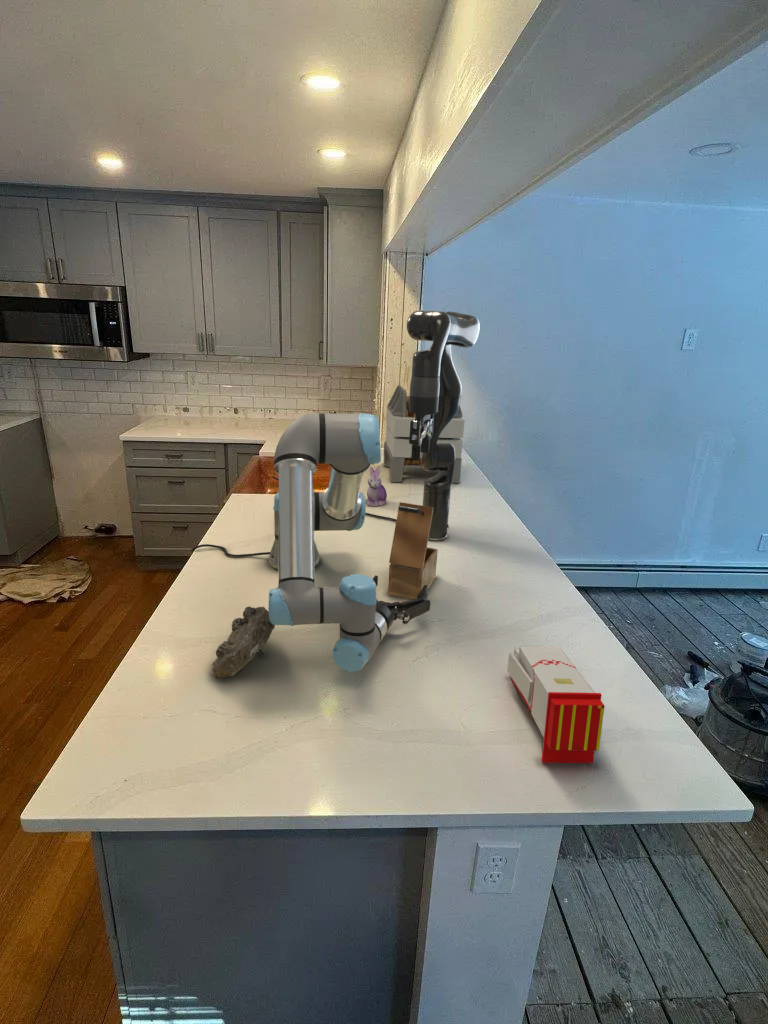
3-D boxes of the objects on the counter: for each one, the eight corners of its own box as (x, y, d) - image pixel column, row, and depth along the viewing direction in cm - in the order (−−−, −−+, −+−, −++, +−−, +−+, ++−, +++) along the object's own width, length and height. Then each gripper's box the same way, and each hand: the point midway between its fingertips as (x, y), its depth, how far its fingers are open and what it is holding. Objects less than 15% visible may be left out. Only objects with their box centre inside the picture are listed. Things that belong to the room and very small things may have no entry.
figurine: (371, 508, 224) (372, 471, 219) (360, 500, 232) (361, 464, 227) (392, 505, 228) (394, 469, 223) (380, 497, 236) (382, 462, 231)
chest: (405, 571, 172) (407, 543, 169) (435, 576, 169) (437, 549, 166) (387, 594, 157) (389, 565, 154) (420, 601, 154) (422, 571, 151)
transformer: (382, 463, 289) (386, 382, 275) (445, 464, 293) (451, 384, 279) (390, 482, 257) (394, 392, 243) (460, 483, 261) (468, 394, 247)
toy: (556, 628, 125) (614, 701, 96) (551, 684, 128) (605, 771, 99) (502, 627, 125) (543, 700, 95) (497, 683, 128) (536, 770, 98)
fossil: (228, 609, 137) (273, 580, 132) (255, 636, 140) (300, 609, 135) (192, 672, 118) (244, 640, 113) (224, 701, 121) (275, 672, 116)
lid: (400, 502, 156) (392, 498, 148) (433, 507, 153) (427, 504, 145) (389, 563, 155) (381, 562, 147) (423, 569, 152) (416, 569, 144)
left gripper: (323, 626, 135) (356, 588, 154) (423, 649, 128) (445, 606, 147) (323, 598, 133) (357, 563, 152) (426, 620, 125) (448, 580, 144)
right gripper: (431, 398, 136) (426, 464, 142) (445, 392, 149) (440, 452, 155) (401, 396, 139) (398, 460, 144) (418, 389, 151) (414, 448, 157)
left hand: (400, 584), depth 149 cm, fingers open, 13 cm apart
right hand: (420, 456), depth 149 cm, fingers open, 8 cm apart
